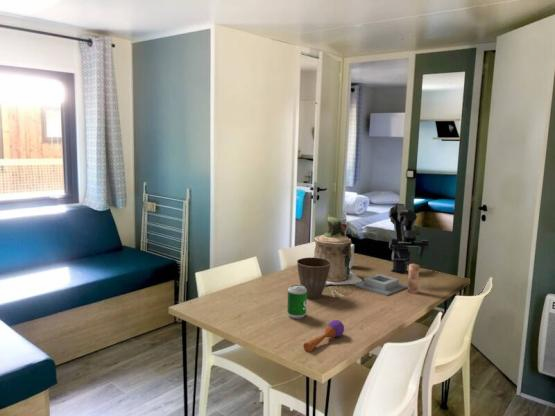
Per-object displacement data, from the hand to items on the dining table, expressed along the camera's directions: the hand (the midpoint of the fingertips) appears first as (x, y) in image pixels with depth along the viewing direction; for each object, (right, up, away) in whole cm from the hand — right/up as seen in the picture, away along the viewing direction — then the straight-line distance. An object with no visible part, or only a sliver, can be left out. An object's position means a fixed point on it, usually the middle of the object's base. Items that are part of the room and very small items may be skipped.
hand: (410, 259), depth 219 cm
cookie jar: (-37, -11, +14) cm, 41 cm away
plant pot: (-48, -15, -14) cm, 53 cm away
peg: (-1, -14, -6) cm, 16 cm away
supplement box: (-26, -8, +34) cm, 44 cm away
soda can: (-57, -18, -37) cm, 70 cm away
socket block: (-14, -13, +1) cm, 19 cm away
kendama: (-48, -22, -60) cm, 80 cm away
